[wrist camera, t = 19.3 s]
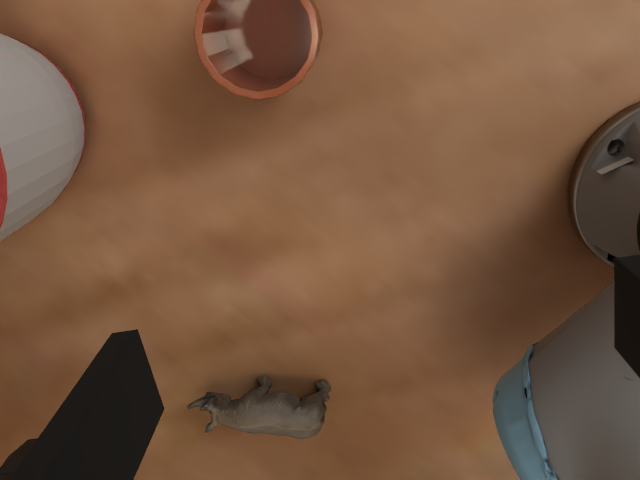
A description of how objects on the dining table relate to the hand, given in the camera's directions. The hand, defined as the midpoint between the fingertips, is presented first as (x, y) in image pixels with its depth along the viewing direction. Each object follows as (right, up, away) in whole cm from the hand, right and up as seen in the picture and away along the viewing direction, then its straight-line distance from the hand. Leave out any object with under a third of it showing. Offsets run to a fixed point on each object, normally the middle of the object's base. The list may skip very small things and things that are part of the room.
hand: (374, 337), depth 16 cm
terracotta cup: (-5, +19, +30) cm, 36 cm away
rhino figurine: (-7, -12, +43) cm, 45 cm away
